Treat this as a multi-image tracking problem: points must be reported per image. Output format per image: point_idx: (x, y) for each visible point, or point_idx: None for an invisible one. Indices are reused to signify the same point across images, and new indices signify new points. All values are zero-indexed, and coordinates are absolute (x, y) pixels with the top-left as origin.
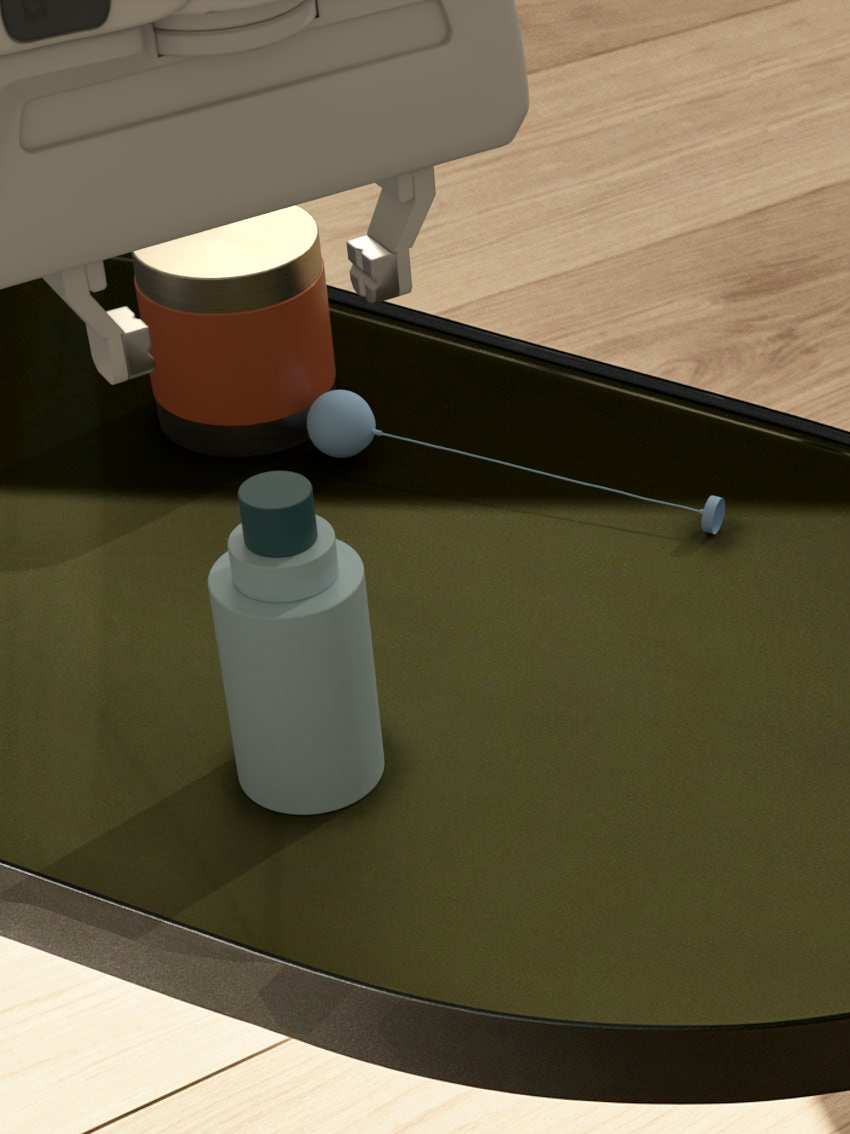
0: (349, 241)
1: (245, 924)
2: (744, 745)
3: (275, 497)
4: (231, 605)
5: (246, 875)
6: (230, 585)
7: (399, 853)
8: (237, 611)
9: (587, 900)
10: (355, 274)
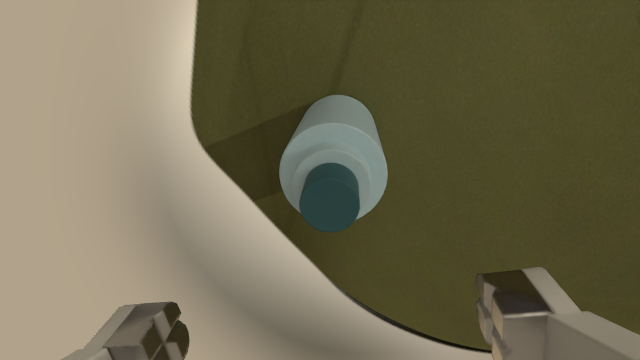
0: (507, 320)
1: (278, 219)
2: (541, 205)
3: (326, 216)
4: (288, 194)
5: None
6: (293, 174)
7: None
8: (290, 202)
9: (415, 263)
10: (486, 296)
